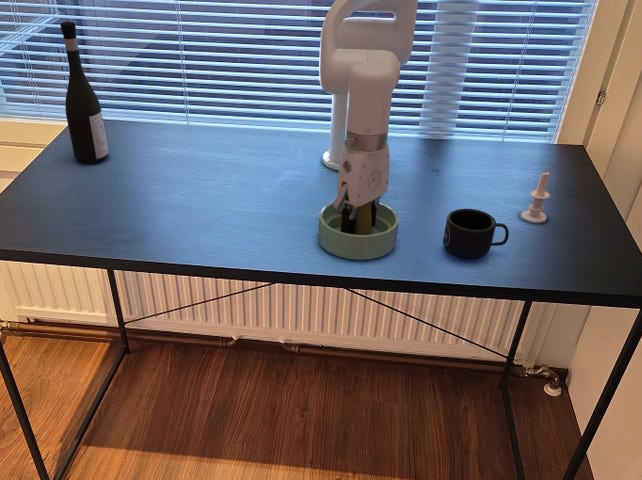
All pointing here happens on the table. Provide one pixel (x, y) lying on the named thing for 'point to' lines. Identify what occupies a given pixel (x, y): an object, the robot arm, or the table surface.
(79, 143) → the wine bottle
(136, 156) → the table surface
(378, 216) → the bowl
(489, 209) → the table surface
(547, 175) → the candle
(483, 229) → the mug
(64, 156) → the table surface
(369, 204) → the brown rounded tall piece
